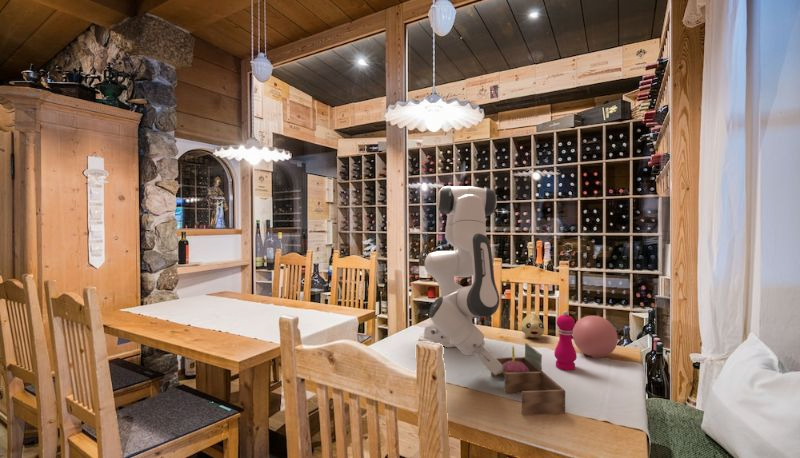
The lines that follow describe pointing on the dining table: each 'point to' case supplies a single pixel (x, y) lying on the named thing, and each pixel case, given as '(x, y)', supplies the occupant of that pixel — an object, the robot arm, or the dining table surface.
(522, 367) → the cupcake
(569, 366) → the pepper mill
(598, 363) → the dining table surface
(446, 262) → the robot arm
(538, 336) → the beige toy head
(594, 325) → the balloon
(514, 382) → the walnut rack
